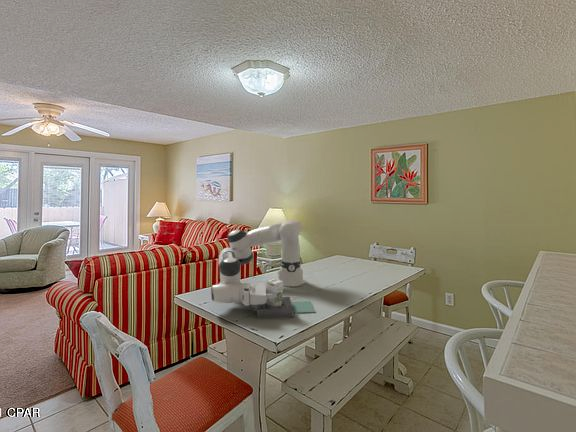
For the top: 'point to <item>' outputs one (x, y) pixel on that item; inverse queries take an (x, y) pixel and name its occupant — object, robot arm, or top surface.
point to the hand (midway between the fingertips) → (276, 292)
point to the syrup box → (274, 287)
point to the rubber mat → (302, 307)
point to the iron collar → (276, 310)
